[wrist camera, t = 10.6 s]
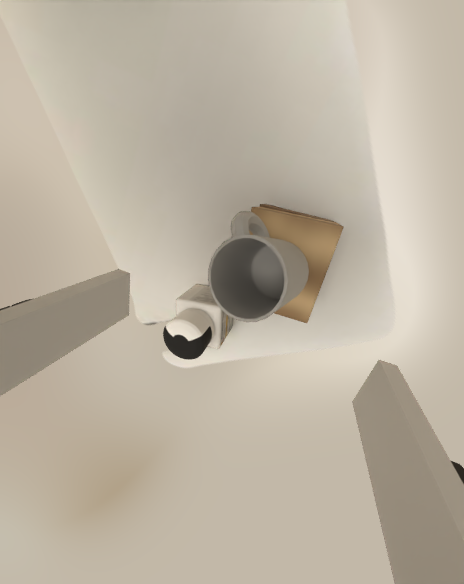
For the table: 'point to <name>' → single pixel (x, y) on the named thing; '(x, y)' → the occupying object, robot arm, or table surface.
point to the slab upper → (315, 246)
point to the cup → (255, 271)
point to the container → (196, 324)
